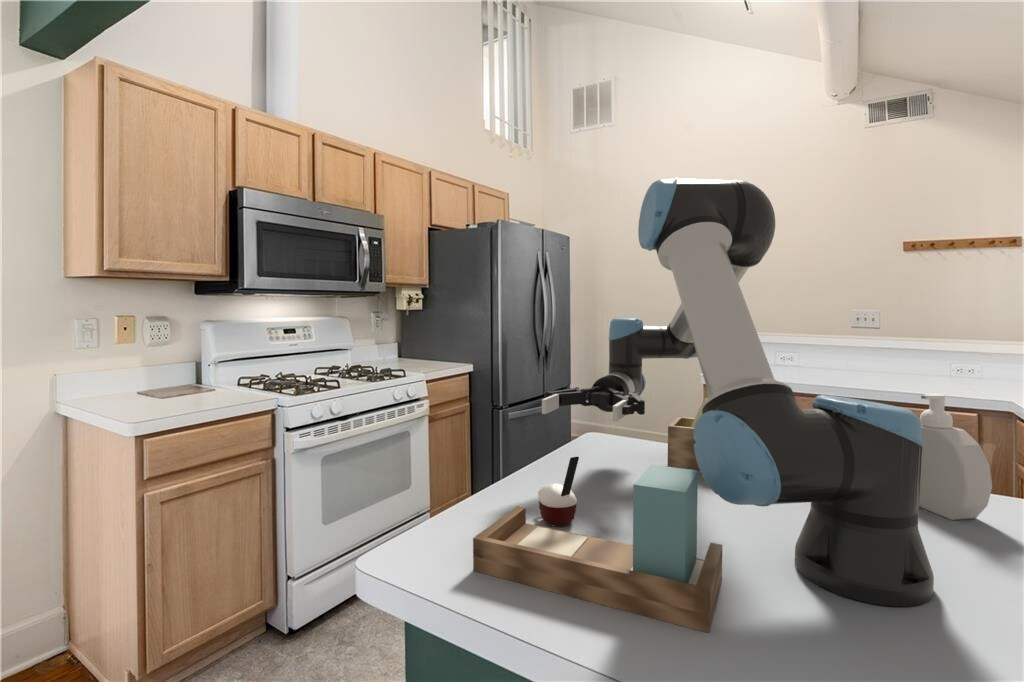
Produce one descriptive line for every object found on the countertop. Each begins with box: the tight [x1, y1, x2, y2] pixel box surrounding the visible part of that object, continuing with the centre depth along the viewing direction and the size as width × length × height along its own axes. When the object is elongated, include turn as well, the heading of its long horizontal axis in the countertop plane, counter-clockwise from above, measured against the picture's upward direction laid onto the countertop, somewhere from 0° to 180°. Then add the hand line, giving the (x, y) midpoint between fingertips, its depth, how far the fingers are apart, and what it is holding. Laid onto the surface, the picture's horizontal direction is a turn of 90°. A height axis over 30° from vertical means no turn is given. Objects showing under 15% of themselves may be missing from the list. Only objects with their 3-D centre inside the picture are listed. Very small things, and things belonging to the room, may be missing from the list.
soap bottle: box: [919, 393, 993, 521], centre depth 92 cm, size 16×5×20 cm, turn 8°
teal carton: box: [632, 464, 699, 583], centre depth 66 cm, size 6×9×12 cm
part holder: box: [667, 416, 700, 471], centre depth 116 cm, size 26×11×9 cm, turn 62°
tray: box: [472, 505, 723, 634], centre depth 70 cm, size 30×13×4 cm, turn 62°
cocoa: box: [537, 456, 580, 527], centre depth 87 cm, size 10×6×12 cm, turn 7°
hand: (577, 410), depth 95 cm, fingers open, 13 cm apart
